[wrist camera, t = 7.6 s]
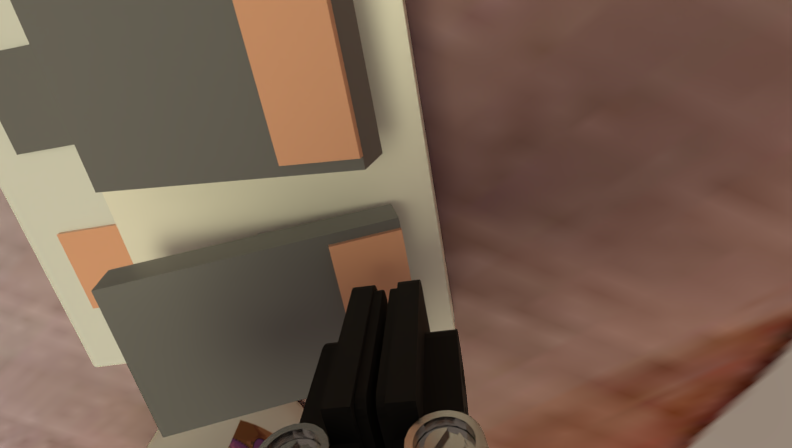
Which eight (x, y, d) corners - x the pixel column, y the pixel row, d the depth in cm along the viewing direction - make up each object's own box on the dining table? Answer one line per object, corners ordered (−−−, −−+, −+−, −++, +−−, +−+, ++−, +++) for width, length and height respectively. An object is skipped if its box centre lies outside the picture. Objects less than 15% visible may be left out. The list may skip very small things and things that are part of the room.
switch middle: (335, -89, 10) (305, -100, 8) (383, 153, 12) (362, 171, 10) (53, -8, 12) (0, -7, 11) (129, 177, 14) (91, 194, 13)
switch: (390, 203, 14) (399, 219, 13) (418, 342, 16) (428, 368, 15) (108, 270, 13) (88, 294, 12) (172, 408, 15) (161, 441, 14)
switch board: (332, -465, 13) (278, -779, 8) (453, 311, 22) (464, 398, 17) (-227, -296, 14) (-569, -462, 9) (104, 356, 23) (21, 447, 18)
